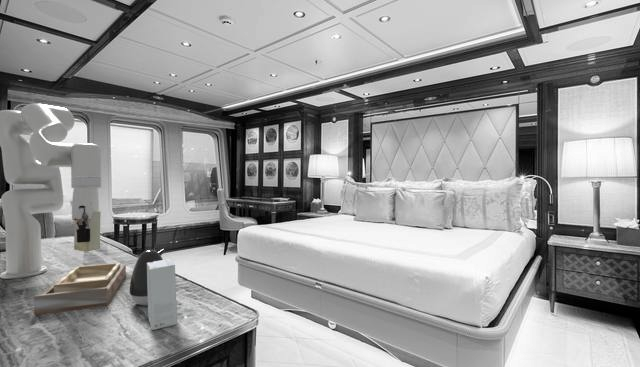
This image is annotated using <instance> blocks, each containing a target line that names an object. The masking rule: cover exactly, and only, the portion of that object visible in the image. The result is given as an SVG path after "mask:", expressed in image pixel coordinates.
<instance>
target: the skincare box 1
mask: <svg viewBox="0 0 640 367" xmlns="http://www.w3.org/2000/svg"><path fill="white" fill-rule="evenodd" d="M101 213H102V212H101V211H100V210H99V211H95V212H94V215H93V219H91V220H90V222H89V229H90V241H89V242H80V243H78V242H77V220H76V221H74V229H73V230H74V234H73V235H74V236H73V250H74V251H78V252H79V251H80V252H84V253H85V252H92V251H98V250H101ZM85 218H88V215H87V214H86V217H84V218H83V219H85Z"/></svg>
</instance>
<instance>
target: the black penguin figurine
mask: <svg viewBox="0 0 640 367" xmlns="http://www.w3.org/2000/svg"><path fill="white" fill-rule="evenodd" d="M165 252H166V249H165V248H162V249H160V250H159V251H157V250H154V249H148V250H147V249H146V250H144V251H143V252H142V253H141V254H140V255H139V256H138V258H137V259H136V262H135V264H134V267H133V271H132V274H131V277H130V284H129V295H130V296H131V299H132V301H134V303H135V304H138V305H140V306H147V307H148V289H147V263H148V262H154V261H160V260H164V259H163V257H162V255H163V254H164V253H165Z"/></svg>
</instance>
